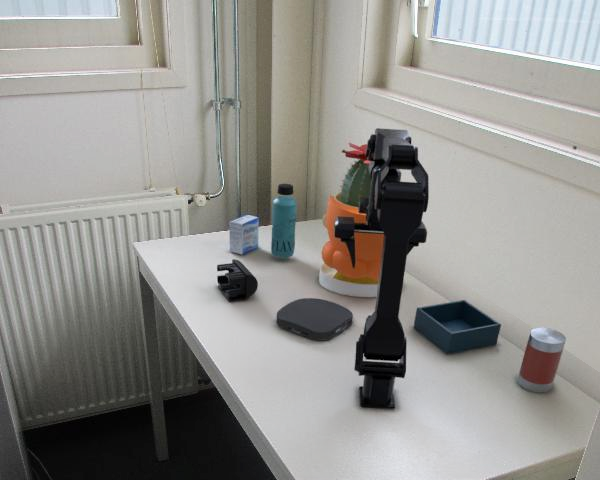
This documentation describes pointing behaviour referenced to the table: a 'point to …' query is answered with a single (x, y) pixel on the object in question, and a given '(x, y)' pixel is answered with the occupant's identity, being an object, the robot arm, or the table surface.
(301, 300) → the media streaming box
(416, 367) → the table surface
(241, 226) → the medicine box
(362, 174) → the potted cactus
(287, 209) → the beverage bottle
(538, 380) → the tin can
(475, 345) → the tote
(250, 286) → the end cap
